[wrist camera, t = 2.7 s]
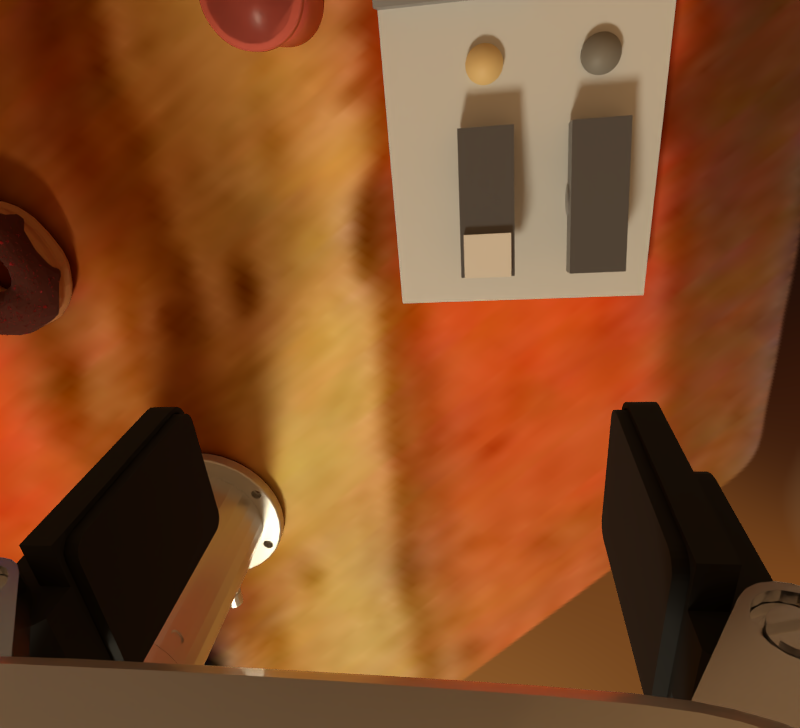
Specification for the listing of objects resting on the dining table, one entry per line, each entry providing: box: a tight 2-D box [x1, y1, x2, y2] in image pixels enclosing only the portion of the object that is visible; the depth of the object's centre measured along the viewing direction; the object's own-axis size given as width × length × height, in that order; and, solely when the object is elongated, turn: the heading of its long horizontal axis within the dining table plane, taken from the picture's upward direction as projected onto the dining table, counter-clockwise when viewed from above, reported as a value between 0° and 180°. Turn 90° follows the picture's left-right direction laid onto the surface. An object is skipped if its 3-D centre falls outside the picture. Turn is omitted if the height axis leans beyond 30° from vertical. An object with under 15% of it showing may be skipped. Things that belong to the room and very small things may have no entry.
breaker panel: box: [372, 0, 676, 303], centre depth 32 cm, size 25×15×4 cm, turn 5°
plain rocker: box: [565, 115, 633, 274], centre depth 32 cm, size 8×3×2 cm, turn 5°
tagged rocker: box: [457, 124, 515, 279], centre depth 33 cm, size 8×3×3 cm, turn 5°
